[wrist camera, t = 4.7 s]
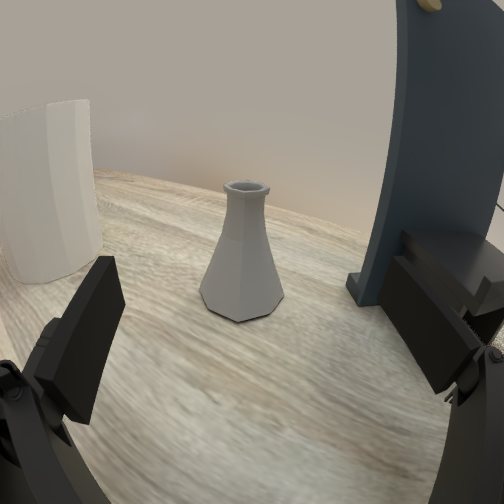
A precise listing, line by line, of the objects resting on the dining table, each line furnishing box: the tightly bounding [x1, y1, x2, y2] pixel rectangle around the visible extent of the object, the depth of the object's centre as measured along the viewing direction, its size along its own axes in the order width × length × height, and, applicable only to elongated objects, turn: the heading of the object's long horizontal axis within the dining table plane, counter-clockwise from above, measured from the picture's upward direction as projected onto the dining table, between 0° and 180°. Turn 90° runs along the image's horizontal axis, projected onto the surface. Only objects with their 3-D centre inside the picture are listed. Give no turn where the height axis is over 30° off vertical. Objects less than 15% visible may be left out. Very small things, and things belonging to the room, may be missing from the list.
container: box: [0, 99, 104, 284], centre depth 24 cm, size 14×14×18 cm
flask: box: [199, 180, 284, 322], centre depth 22 cm, size 7×7×10 cm
